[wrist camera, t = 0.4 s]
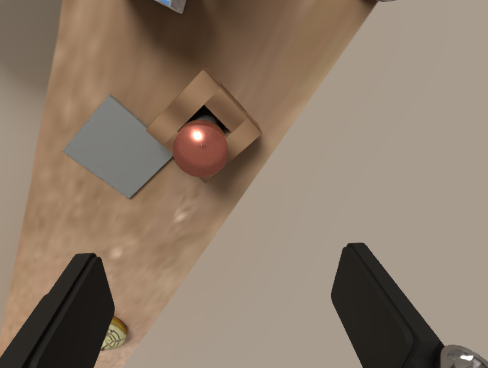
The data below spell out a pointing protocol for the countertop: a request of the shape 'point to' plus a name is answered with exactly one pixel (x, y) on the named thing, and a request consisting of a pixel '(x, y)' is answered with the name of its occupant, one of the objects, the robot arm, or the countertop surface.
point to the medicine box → (174, 4)
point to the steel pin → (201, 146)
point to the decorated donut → (114, 335)
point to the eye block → (219, 103)
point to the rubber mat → (117, 148)
